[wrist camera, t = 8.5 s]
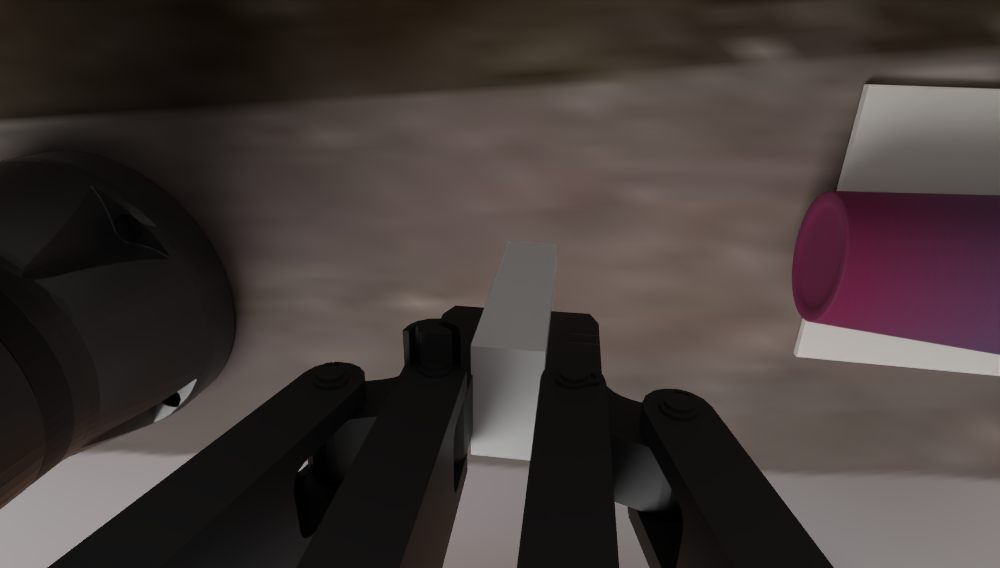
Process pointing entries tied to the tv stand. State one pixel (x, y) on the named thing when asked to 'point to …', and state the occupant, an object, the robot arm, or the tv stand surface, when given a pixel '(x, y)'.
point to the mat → (915, 169)
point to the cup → (902, 266)
